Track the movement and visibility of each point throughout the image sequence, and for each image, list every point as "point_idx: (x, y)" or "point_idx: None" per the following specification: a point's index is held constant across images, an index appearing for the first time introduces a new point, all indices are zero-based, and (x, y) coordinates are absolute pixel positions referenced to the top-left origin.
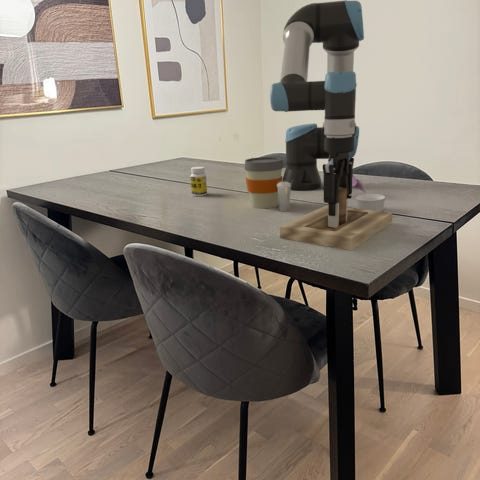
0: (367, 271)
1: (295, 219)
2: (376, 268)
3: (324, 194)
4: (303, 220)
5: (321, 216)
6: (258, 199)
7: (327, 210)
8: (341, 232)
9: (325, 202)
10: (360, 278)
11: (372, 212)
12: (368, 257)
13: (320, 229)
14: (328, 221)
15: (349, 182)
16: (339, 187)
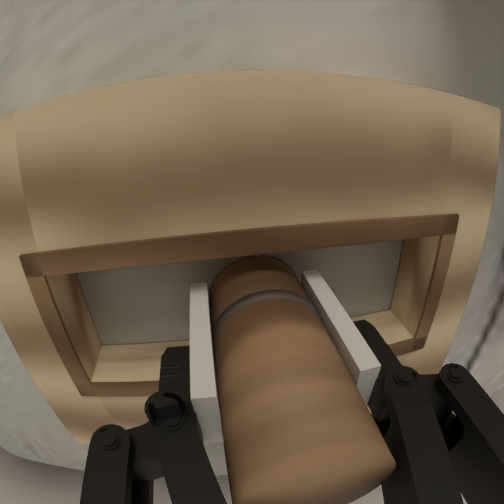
0: (33, 451)
1: (101, 87)
2: (56, 458)
3: (85, 488)
4: (110, 153)
5: (278, 199)
6: None
7: (425, 158)
8: (92, 411)
9: (154, 400)
10: (7, 446)
11: (430, 352)
12: (84, 444)
13: (49, 340)
14: (190, 303)
15: (456, 476)
16: (381, 472)
